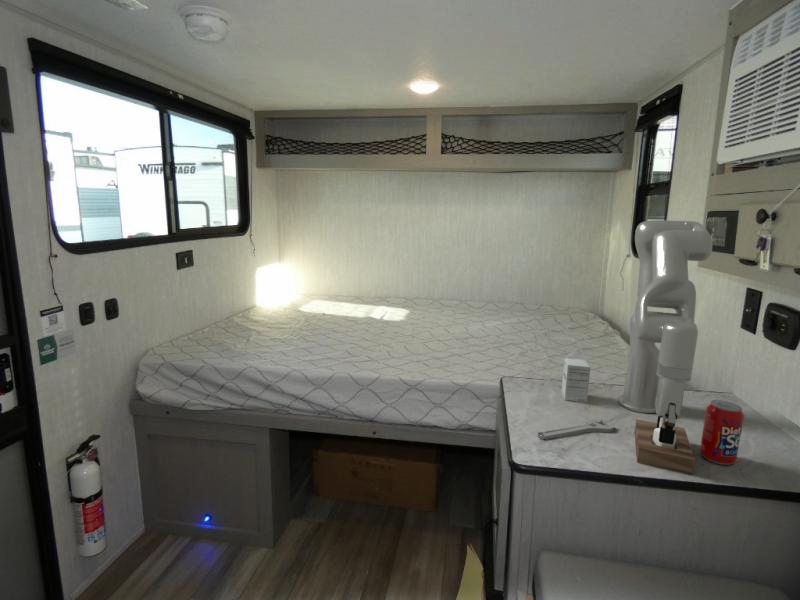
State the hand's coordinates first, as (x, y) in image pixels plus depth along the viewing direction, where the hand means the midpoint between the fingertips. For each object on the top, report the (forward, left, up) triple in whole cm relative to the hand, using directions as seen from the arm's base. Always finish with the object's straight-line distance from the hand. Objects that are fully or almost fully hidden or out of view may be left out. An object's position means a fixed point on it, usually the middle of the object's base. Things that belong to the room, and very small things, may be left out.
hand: (664, 436), depth 119 cm
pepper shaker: (0, 0, -5) cm, 5 cm away
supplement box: (-30, -24, -6) cm, 39 cm away
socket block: (-2, 0, -6) cm, 6 cm away
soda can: (-5, +13, -6) cm, 15 cm away
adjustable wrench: (-4, -22, -6) cm, 23 cm away
